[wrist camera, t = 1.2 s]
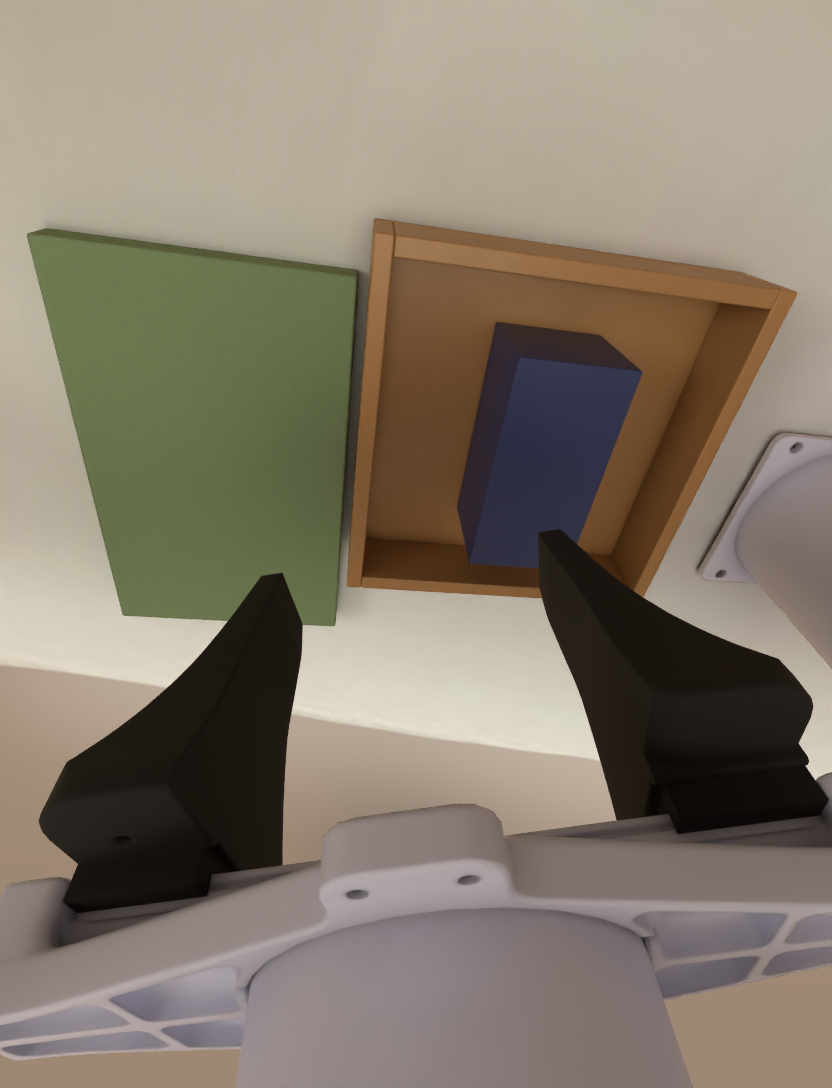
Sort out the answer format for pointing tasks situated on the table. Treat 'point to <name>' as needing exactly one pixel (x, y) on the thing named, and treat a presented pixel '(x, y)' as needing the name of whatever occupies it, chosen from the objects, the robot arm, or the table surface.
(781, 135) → the table surface
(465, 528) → the navy blue rectangular prism
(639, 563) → the open box
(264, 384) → the flat green rectangular board
